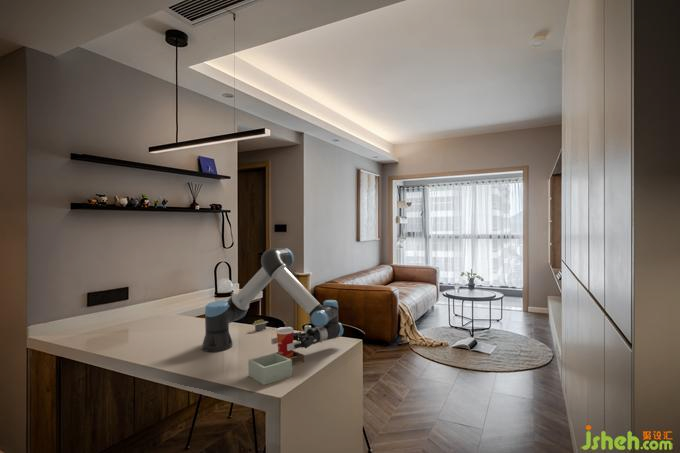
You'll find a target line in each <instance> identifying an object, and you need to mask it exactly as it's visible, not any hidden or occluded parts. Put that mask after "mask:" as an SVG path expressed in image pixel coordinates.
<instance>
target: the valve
mask: <svg viewBox="0 0 680 453" xmlns="http://www.w3.org/2000/svg"><path fill="white" fill-rule="evenodd" d="M310 328H312V325H309V324H307V325H304V331H303V333H306V332H307V330H308V329H310Z"/></svg>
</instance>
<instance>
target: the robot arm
mask: <svg viewBox="0 0 680 453" xmlns="http://www.w3.org/2000/svg"><path fill="white" fill-rule="evenodd" d="M260 260H261V262H260V263H261V268H260V269H259V270H258V271H257V272H256V273H255V274H254V275H253V276H252V277H251V278H250V280H248V282H247V283H246V284H245V285H244V286H243V287H242V288H241V289H240V291H238V292H237V293H234V294H233V293H232V295H231V296H230V297H229V298H228V300H216V301H213V302H209V303H208V304H206V306H205V310H204V320H205V324H204V325H205V329H204V330H205V335H204V338H203V341H202V343H201V344H202V345H201V350H202V351H204V352H221V351H225V350H229V349H231V348H232V347H233V340H232V337H231V334H230V330H229V329H230V328H229V324H231V323H233V322H235V321H239V320H241V319H242V318H244V317H245V316H246V315H247V312H248V309H249V308H250V303H251V302H252V301H253V300H255V298H256V297H257V296H258V295H259V294H260V293H261V292H262V290H264V289H265V288H266V287H267V286H268V285H269V283H270V282H272V280H273V279H274V280H276V281H277V282H278V283H279V285H280V286H281V287H282V288H283V289H284V290H285V291H286V292H287V293H288V294H289V296H291V298H293V300H295V302H296V303H297V304H298V305H299V306H301V308H302V309H303V310H304V311H305V312H306V314H308V315H309V317H310V321H311V323H312V325H313V326H314V327H311V328H310V329H308V330H307V332H306V333H304V332H301V331H298V332H293V341H294V342H293V343H291V344H287V351H290V350H293V351H294V350H296V349H300V348H301V349H308V348H309V347H310V346H312V345H315V344H318V343H321V344H322V343H323V342H325V341H330V340H334V339H337V338H340V337H341V336H343V334H344V327H343V324H342V323H341V322H339V303H338V301H337V300H335V299H326V300H324V301H323V304H321V303H320V302H319V301H318V300H317V299H316V298H315V297H314V296H313V295H312V294H311V292H310V291H309V290H308V289H307V288H306V287H305V286H304V285H303V284H302V283H301V282H300V281H299V280H298V279H297V278H296V276H294V275H293V273H291V271H290V270H289V269H290V268H291V267H292V266H293V265H294V261H295V256H294V254H293V252H292V251H291V250H290V249H289V248H287V247H276V248H269V249H267V250H265V251H264V252H263V254H262V255H261V258H260ZM295 341H296V342H295ZM270 342H271V345H276V344H278V341H277V336H276V337H271V338H270Z"/></svg>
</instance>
